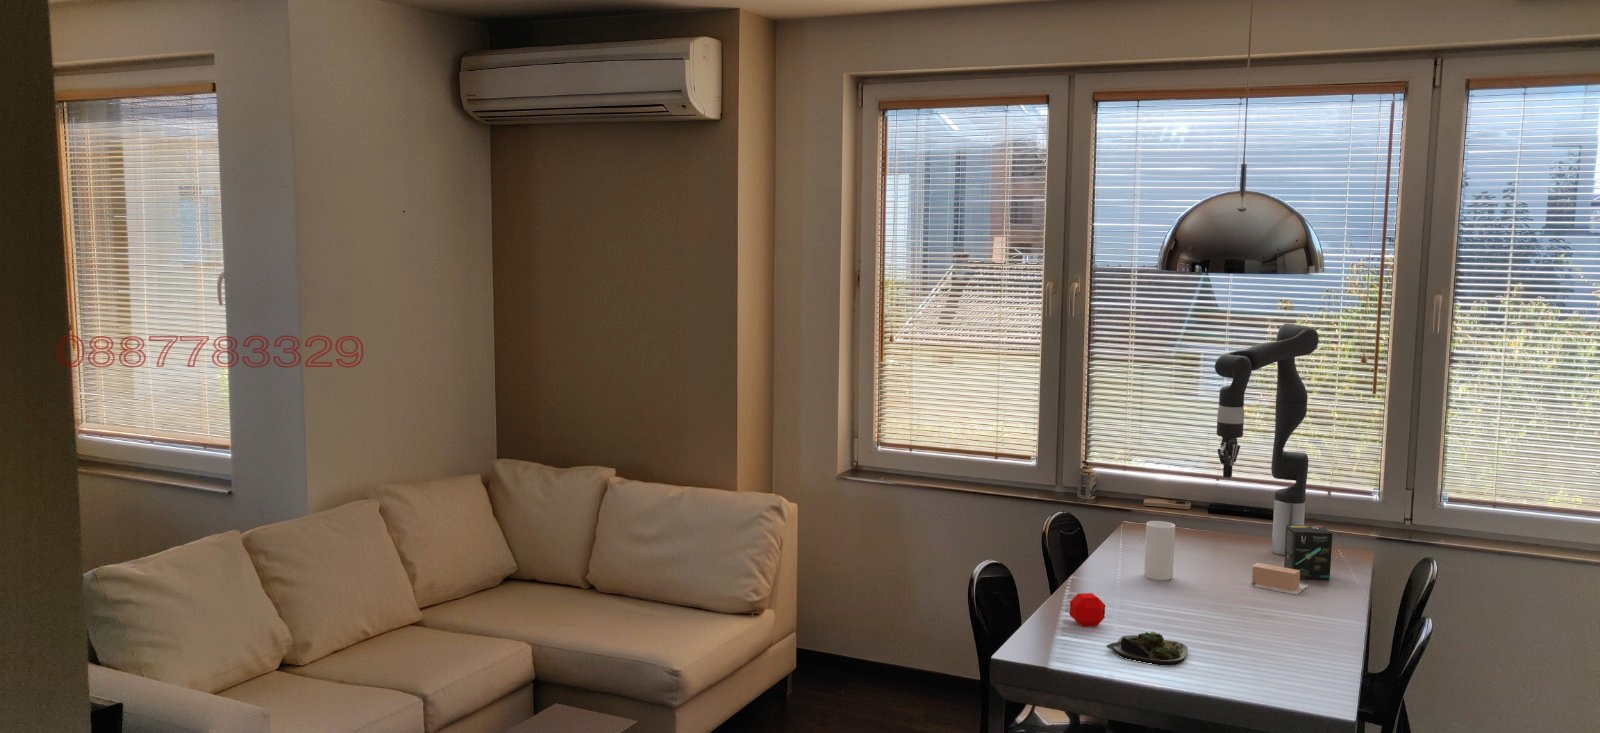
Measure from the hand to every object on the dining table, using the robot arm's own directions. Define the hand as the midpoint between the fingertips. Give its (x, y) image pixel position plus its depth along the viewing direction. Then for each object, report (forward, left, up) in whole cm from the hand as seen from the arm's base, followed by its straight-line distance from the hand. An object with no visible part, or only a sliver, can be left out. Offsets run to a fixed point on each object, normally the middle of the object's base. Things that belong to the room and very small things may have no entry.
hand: (1227, 477), depth 345 cm
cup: (+20, -12, -29) cm, 37 cm away
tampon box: (-12, +21, -29) cm, 38 cm away
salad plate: (+86, +13, -30) cm, 92 cm away
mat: (+6, +19, -29) cm, 35 cm away
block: (+6, +12, -26) cm, 29 cm away
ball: (+76, -8, -29) cm, 82 cm away
